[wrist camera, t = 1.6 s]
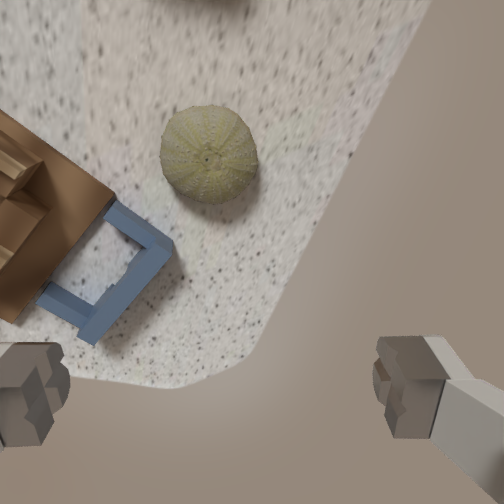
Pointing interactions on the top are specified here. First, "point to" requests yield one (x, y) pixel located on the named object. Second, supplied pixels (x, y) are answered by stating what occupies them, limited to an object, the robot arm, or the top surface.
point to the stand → (38, 212)
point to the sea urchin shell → (208, 153)
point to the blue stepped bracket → (116, 296)
